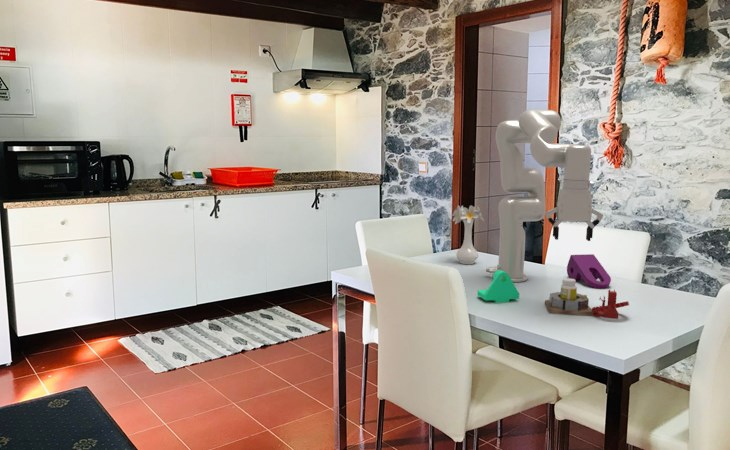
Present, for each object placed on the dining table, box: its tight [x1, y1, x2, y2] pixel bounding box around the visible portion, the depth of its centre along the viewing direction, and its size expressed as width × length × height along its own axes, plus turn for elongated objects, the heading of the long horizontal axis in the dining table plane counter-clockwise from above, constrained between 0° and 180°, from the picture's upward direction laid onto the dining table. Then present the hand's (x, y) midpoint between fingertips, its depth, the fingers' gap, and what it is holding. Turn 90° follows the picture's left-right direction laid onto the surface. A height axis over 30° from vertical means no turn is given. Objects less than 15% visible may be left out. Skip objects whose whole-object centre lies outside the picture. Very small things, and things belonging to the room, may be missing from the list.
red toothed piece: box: [591, 288, 630, 320], centre depth 188 cm, size 11×12×8 cm
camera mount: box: [477, 270, 520, 304], centre depth 205 cm, size 12×8×10 cm, turn 103°
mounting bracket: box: [566, 253, 612, 290], centre depth 230 cm, size 10×8×18 cm
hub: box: [548, 291, 589, 311], centre depth 194 cm, size 11×11×4 cm
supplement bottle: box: [560, 277, 578, 300], centre depth 194 cm, size 5×5×8 cm
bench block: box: [544, 299, 594, 317], centre depth 194 cm, size 13×11×1 cm
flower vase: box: [451, 205, 485, 265], centre depth 261 cm, size 13×18×25 cm
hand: (572, 239), depth 192 cm, fingers open, 9 cm apart
